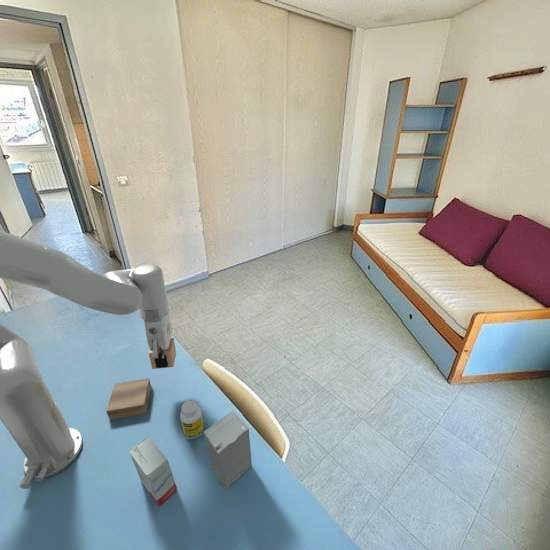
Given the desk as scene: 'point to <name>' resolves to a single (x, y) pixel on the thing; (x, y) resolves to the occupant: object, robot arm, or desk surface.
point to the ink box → (154, 470)
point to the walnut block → (129, 399)
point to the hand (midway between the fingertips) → (164, 358)
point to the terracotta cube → (169, 353)
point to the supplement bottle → (191, 420)
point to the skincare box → (228, 448)
